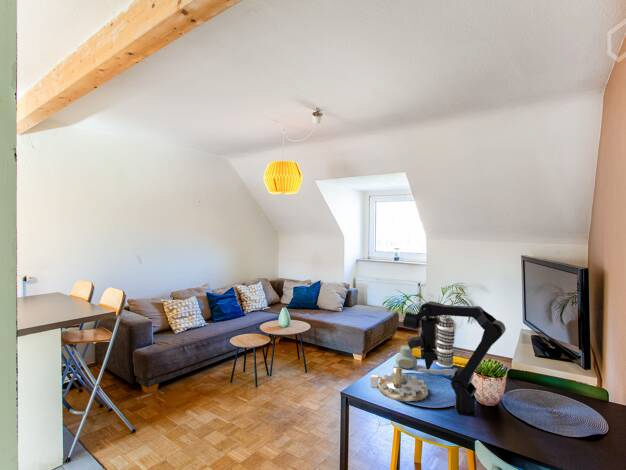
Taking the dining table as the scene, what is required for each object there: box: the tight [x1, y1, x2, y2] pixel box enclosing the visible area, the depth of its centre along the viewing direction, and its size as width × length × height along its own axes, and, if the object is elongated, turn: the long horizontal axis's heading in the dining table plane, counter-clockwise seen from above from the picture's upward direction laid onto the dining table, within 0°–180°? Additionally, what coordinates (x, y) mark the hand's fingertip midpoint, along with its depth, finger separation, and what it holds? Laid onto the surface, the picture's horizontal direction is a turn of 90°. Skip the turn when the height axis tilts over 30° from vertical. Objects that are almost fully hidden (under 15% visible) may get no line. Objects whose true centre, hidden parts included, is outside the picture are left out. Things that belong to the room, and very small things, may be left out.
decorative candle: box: [435, 315, 456, 368], centre depth 183 cm, size 9×9×25 cm
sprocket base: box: [378, 381, 429, 402], centre depth 152 cm, size 21×21×2 cm
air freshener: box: [394, 345, 418, 370], centre depth 179 cm, size 11×8×10 cm
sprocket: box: [379, 365, 427, 397], centre depth 152 cm, size 19×19×10 cm
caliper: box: [416, 367, 458, 378], centre depth 168 cm, size 20×1×6 cm, turn 56°
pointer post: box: [370, 374, 383, 389], centre depth 155 cm, size 5×2×5 cm, turn 74°
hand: (427, 369), depth 145 cm, fingers closed
